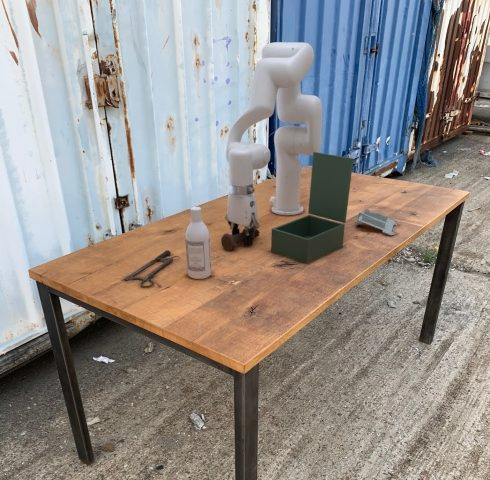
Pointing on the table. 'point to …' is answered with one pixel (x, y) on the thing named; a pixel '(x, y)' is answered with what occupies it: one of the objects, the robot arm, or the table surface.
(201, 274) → the bath foam
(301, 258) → the parts chest
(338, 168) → the chest lid
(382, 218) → the metal bracket
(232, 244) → the bolt
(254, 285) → the table surface
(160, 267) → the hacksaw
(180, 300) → the table surface
